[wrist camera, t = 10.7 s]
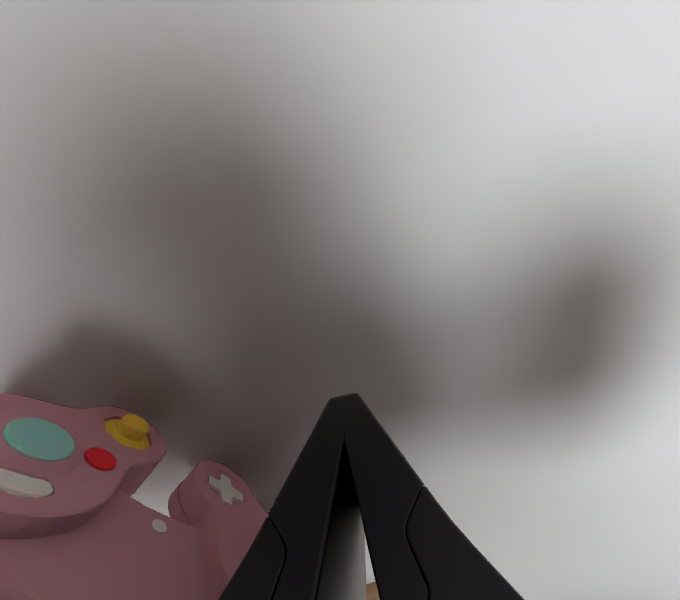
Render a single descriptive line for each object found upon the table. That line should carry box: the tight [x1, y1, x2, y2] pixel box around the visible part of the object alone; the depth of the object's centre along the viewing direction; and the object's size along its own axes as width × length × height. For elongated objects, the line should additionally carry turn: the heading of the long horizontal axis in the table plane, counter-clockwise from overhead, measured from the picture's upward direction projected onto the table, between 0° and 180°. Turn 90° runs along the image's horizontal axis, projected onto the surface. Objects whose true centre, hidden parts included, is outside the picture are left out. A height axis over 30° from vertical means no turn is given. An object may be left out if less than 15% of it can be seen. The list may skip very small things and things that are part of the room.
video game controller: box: [0, 393, 269, 600], centre depth 8 cm, size 10×5×7 cm, turn 46°
